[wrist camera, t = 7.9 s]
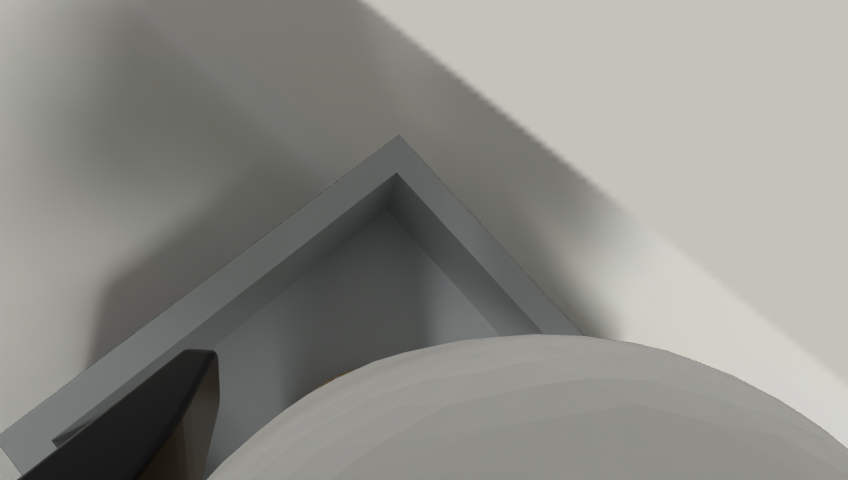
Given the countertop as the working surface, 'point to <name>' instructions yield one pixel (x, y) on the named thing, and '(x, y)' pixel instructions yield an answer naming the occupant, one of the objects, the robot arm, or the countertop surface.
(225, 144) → the countertop surface
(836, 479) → the sprinkles bottle
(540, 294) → the tray
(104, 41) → the countertop surface
